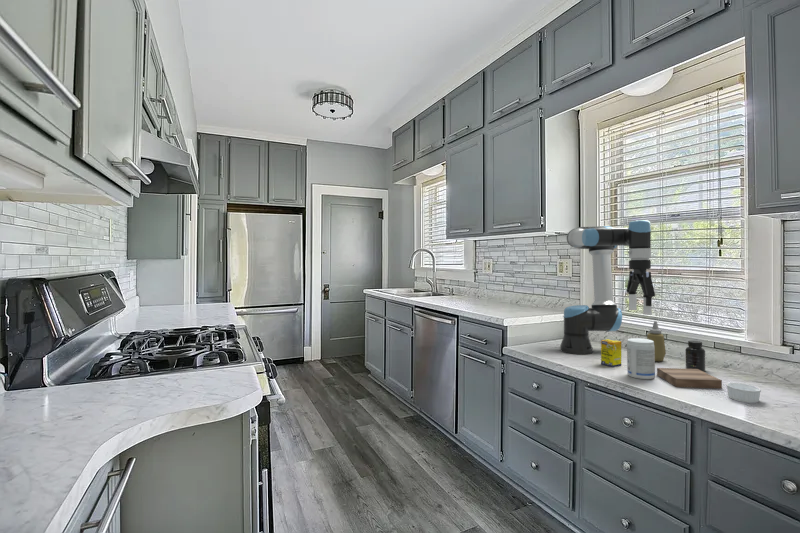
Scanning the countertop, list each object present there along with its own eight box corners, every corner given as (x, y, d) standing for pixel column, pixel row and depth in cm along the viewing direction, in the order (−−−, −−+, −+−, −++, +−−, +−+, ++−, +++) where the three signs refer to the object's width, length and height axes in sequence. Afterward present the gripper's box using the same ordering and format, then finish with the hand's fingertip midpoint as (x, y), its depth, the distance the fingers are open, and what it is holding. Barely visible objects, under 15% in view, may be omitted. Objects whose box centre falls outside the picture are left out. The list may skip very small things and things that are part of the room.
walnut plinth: (657, 375, 162) (657, 367, 162) (697, 376, 159) (697, 369, 159) (676, 387, 147) (676, 378, 147) (721, 388, 145) (721, 380, 145)
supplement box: (600, 364, 179) (600, 340, 179) (609, 362, 182) (609, 338, 182) (613, 367, 174) (613, 342, 174) (621, 365, 177) (621, 341, 177)
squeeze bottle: (662, 363, 180) (662, 323, 179) (642, 360, 186) (642, 321, 185) (668, 360, 185) (668, 321, 185) (648, 357, 191) (648, 319, 191)
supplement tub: (659, 377, 159) (659, 340, 159) (647, 381, 154) (647, 343, 154) (634, 371, 167) (634, 336, 167) (622, 375, 162) (622, 339, 162)
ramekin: (750, 395, 138) (750, 383, 137) (767, 404, 129) (767, 391, 129) (720, 393, 140) (720, 381, 139) (735, 402, 131) (735, 389, 131)
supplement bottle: (687, 366, 174) (687, 339, 174) (706, 369, 169) (706, 341, 169) (683, 369, 169) (683, 341, 169) (703, 372, 164) (703, 344, 164)
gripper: (617, 259, 173) (618, 308, 173) (643, 259, 148) (643, 316, 148) (636, 259, 171) (636, 308, 172) (665, 259, 147) (665, 316, 147)
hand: (639, 312), depth 160 cm, fingers open, 13 cm apart
